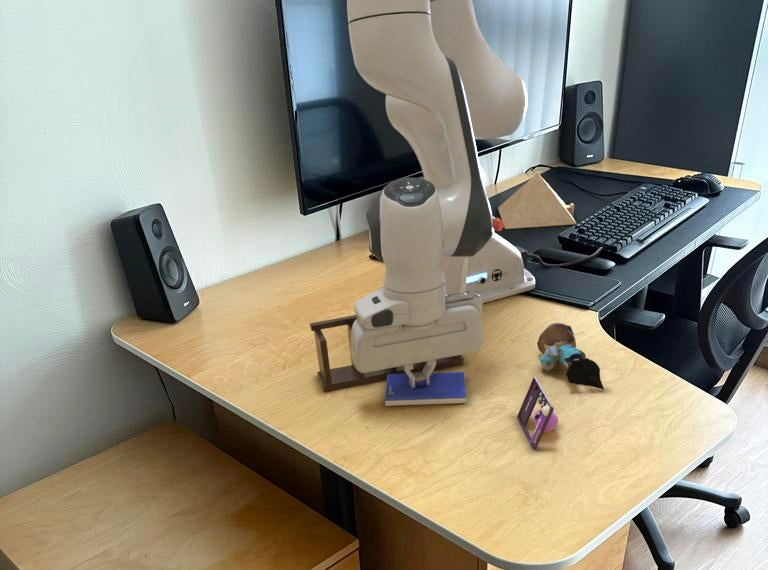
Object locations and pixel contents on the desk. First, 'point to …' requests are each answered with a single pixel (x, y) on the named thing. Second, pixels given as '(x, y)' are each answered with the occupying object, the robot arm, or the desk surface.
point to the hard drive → (426, 390)
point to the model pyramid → (535, 207)
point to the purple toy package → (543, 418)
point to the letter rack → (350, 374)
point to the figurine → (567, 356)
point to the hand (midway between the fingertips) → (419, 385)
